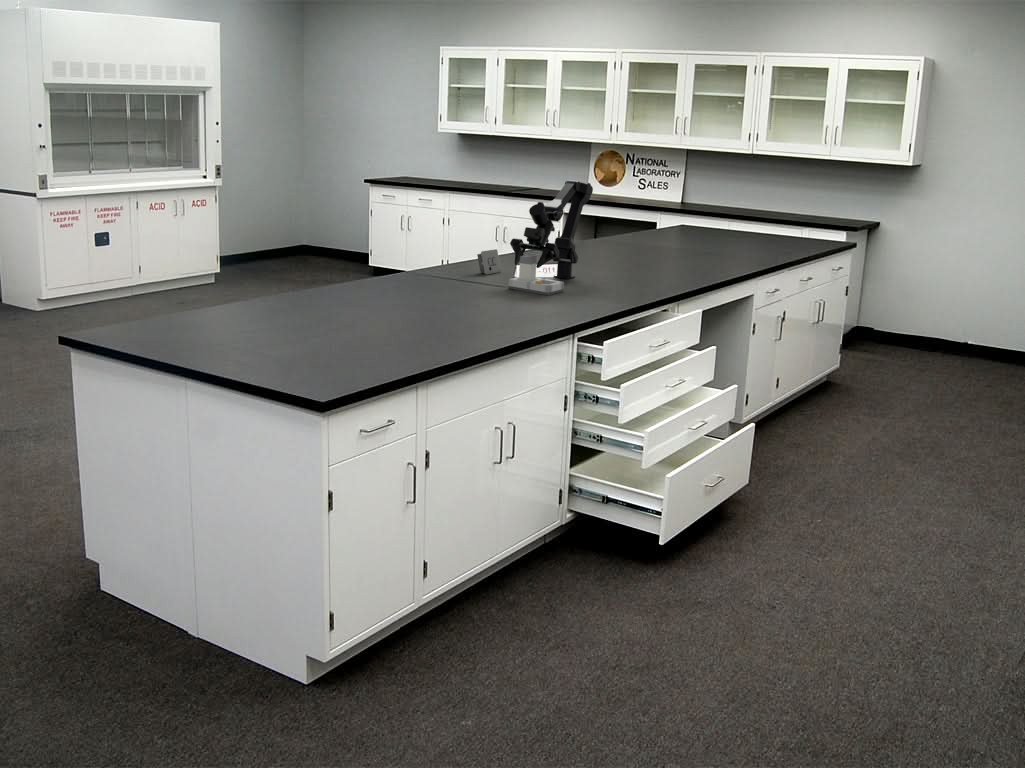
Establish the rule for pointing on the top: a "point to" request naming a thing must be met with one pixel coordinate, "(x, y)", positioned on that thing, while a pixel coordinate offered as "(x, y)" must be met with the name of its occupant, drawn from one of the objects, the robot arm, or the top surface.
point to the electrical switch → (489, 262)
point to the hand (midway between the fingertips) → (526, 266)
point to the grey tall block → (527, 268)
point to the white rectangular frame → (537, 286)
